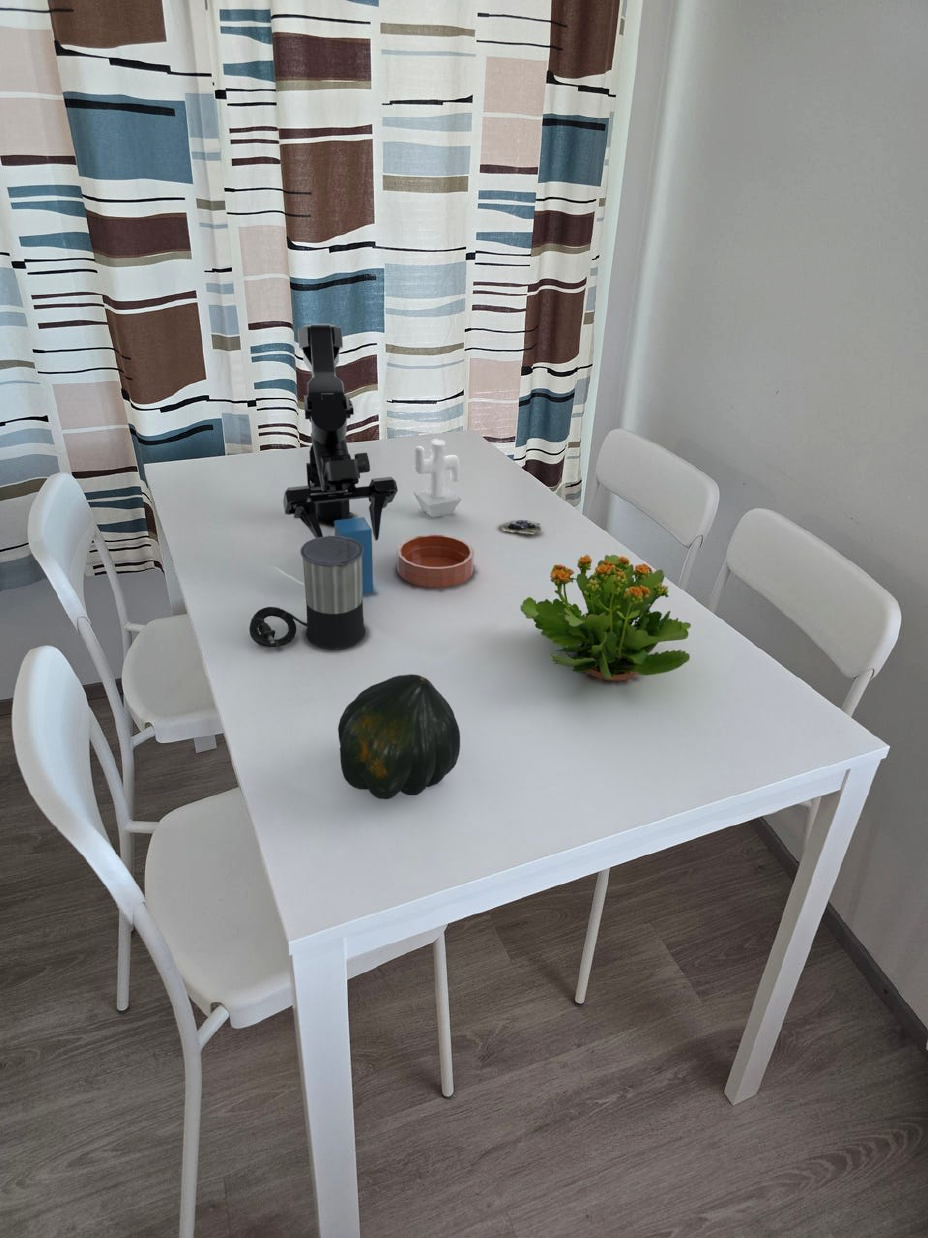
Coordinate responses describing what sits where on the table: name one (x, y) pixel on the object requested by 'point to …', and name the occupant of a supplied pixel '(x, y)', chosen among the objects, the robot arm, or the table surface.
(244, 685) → the table surface
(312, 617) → the milk frother
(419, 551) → the terracotta bowl
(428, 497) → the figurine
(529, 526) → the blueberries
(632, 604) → the potted flower
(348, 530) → the blue rectangular block
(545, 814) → the table surface
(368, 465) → the robot arm
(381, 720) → the squash
